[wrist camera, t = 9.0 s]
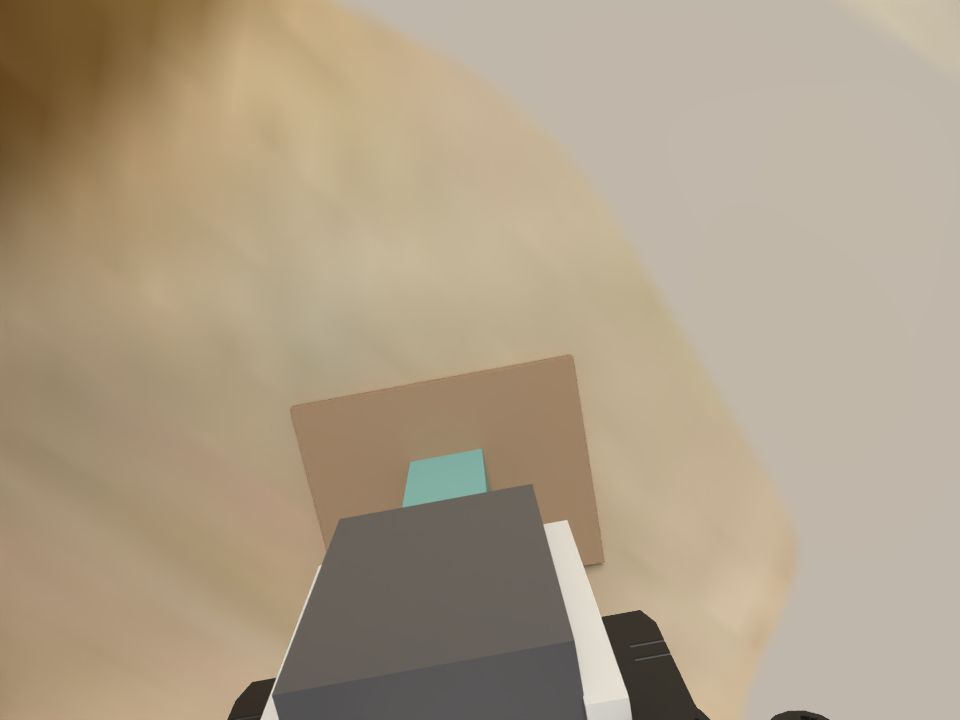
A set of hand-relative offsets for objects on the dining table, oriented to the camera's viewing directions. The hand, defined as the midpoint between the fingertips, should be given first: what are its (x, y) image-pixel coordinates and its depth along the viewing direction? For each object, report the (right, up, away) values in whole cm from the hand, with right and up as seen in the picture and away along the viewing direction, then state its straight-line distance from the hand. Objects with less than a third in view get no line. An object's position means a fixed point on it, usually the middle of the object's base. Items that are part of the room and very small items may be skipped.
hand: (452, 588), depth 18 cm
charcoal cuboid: (0, 0, 0) cm, 0 cm away
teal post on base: (0, +2, +7) cm, 7 cm away
